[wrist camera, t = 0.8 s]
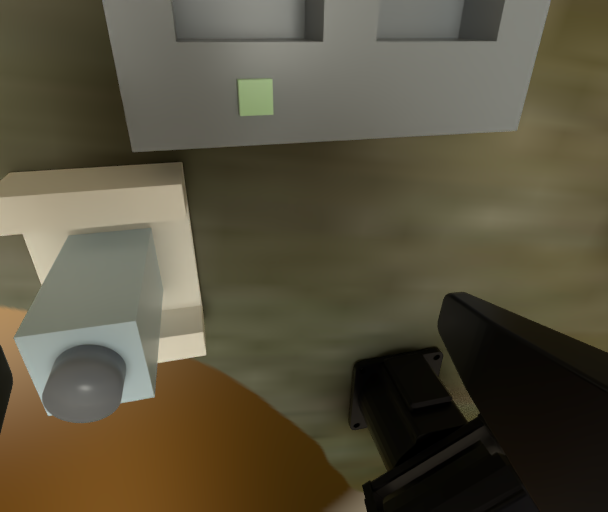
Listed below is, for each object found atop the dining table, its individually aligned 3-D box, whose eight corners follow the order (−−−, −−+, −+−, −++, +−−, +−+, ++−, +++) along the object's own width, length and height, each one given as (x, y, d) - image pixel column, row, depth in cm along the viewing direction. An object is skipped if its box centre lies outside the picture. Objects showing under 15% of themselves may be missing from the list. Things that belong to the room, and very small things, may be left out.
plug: (163, 290, 21) (152, 424, 14) (88, 299, 20) (37, 446, 13) (151, 227, 19) (131, 345, 12) (68, 235, 18) (-2, 365, 11)
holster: (204, 318, 23) (206, 355, 21) (68, 337, 22) (53, 379, 19) (182, 161, 19) (181, 184, 16) (9, 172, 17) (-21, 198, 15)
